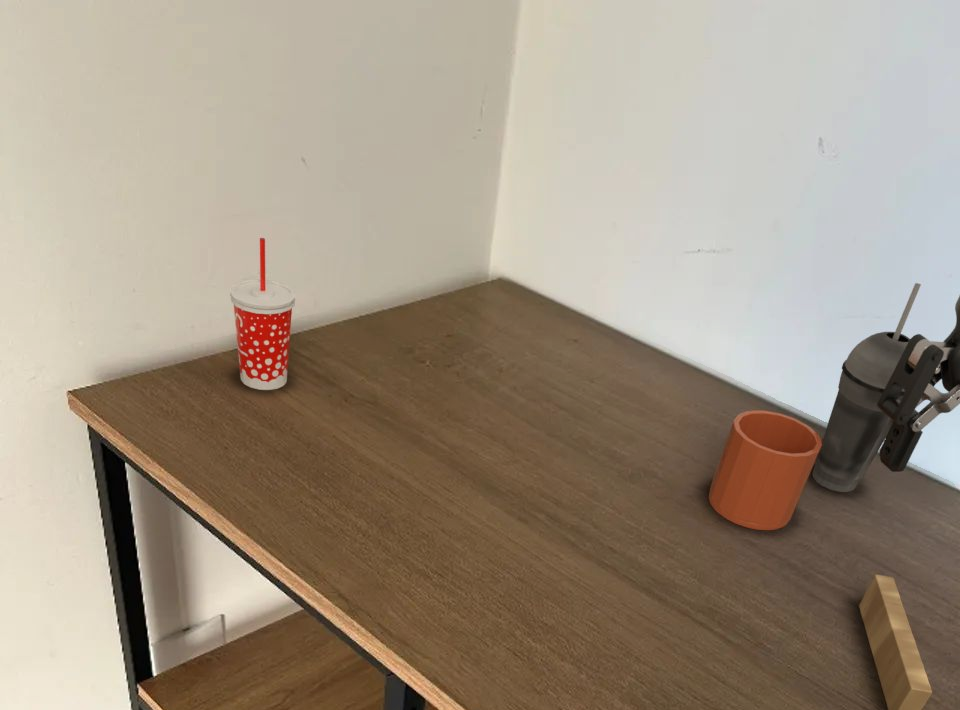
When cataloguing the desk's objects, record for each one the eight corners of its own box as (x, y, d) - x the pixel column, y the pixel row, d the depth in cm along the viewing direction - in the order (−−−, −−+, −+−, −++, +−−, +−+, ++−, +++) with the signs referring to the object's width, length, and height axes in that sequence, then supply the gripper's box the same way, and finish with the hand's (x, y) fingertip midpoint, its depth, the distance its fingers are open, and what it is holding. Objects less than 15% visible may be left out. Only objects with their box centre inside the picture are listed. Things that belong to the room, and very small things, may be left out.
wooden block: (893, 577, 80) (933, 692, 70) (876, 609, 83) (912, 725, 72) (875, 573, 80) (911, 688, 70) (858, 605, 83) (891, 721, 72)
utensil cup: (763, 481, 96) (791, 409, 91) (806, 527, 91) (838, 454, 86) (694, 485, 94) (718, 411, 89) (733, 533, 88) (762, 457, 83)
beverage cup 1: (240, 361, 100) (236, 222, 90) (299, 370, 100) (301, 232, 91) (226, 388, 95) (220, 245, 86) (288, 397, 95) (289, 255, 86)
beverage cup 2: (799, 488, 96) (881, 293, 83) (798, 454, 102) (875, 265, 88) (871, 506, 95) (966, 312, 82) (867, 471, 101) (955, 283, 88)
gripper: (994, 282, 61) (888, 495, 72) (1156, 285, 66) (1034, 485, 77) (922, 238, 67) (833, 443, 77) (1076, 243, 71) (972, 436, 82)
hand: (933, 464), depth 77 cm, fingers open, 8 cm apart
